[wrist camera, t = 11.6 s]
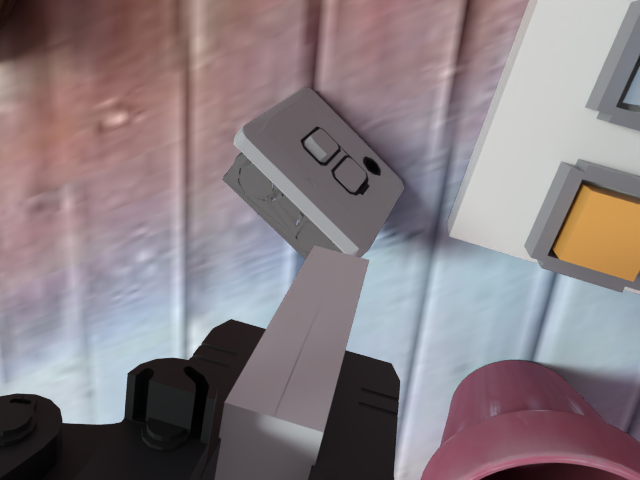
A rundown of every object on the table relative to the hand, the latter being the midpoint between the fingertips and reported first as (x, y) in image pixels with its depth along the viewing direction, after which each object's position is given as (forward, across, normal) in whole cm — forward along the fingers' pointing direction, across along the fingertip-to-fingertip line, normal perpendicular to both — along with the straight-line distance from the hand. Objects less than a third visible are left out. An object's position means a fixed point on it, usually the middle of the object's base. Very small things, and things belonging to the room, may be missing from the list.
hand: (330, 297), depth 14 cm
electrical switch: (+22, -3, -2) cm, 22 cm away
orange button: (+18, +13, 0) cm, 22 cm away
